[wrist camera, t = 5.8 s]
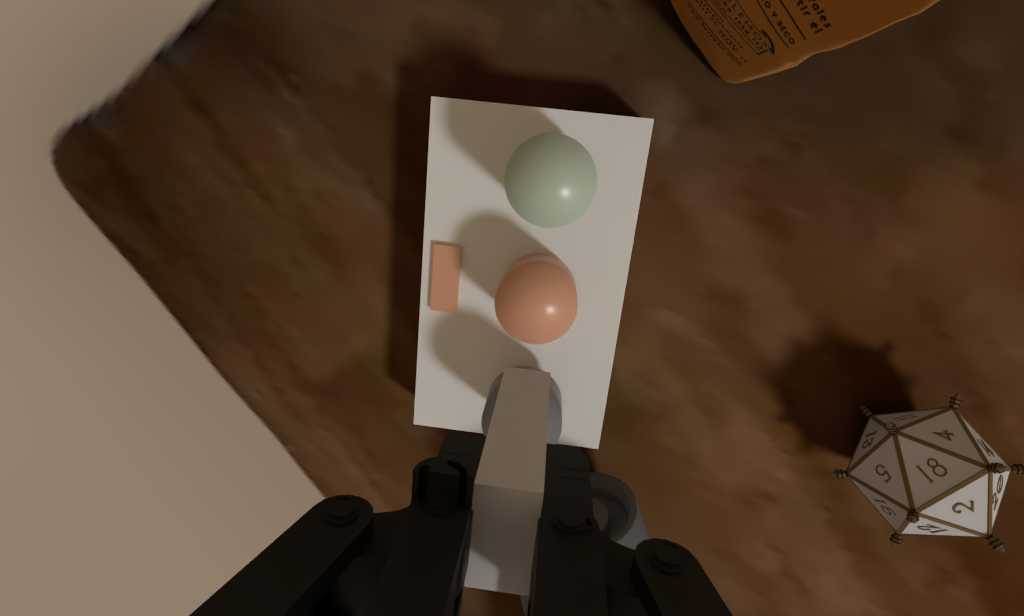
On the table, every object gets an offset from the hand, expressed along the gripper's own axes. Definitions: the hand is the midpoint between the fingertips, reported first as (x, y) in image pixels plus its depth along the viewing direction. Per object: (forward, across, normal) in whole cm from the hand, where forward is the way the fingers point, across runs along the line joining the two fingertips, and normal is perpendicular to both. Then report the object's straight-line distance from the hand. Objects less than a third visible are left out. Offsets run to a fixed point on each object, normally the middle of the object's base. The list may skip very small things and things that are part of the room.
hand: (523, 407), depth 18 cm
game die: (+18, -24, +8) cm, 31 cm away
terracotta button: (+14, 0, 0) cm, 14 cm away
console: (+18, +1, 0) cm, 18 cm away
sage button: (+13, 0, -7) cm, 15 cm away
